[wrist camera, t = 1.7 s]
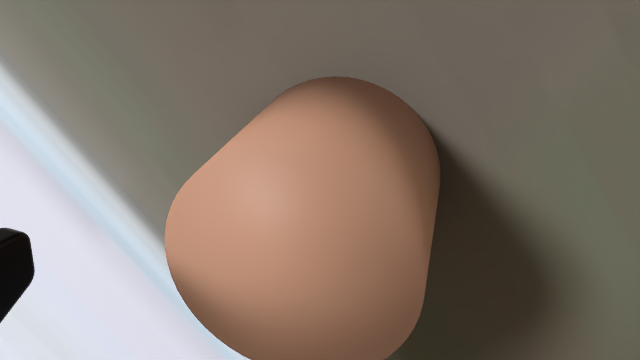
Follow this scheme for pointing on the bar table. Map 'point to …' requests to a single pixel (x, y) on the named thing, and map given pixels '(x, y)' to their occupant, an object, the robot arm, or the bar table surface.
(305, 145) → the peach rounded block
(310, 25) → the bar table surface
